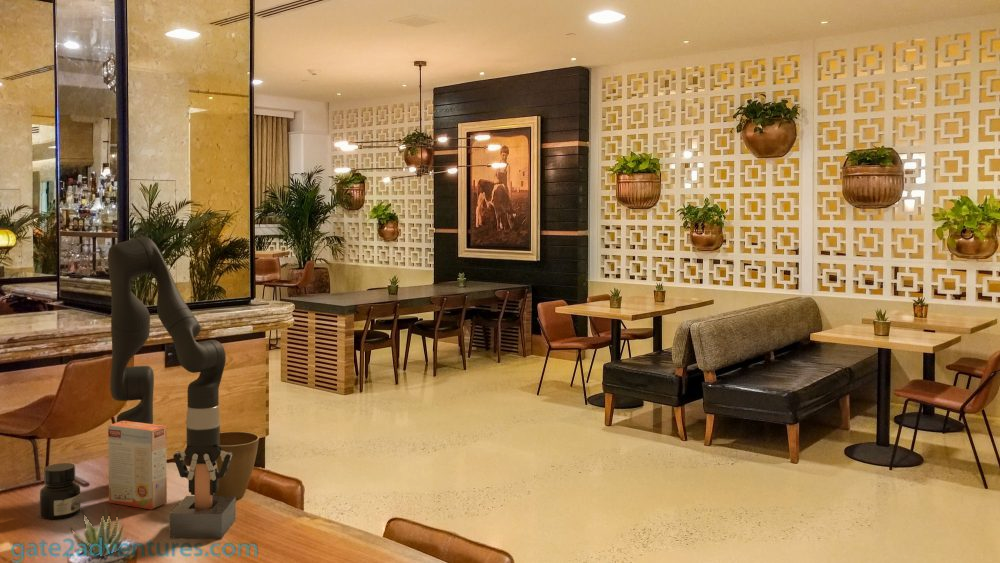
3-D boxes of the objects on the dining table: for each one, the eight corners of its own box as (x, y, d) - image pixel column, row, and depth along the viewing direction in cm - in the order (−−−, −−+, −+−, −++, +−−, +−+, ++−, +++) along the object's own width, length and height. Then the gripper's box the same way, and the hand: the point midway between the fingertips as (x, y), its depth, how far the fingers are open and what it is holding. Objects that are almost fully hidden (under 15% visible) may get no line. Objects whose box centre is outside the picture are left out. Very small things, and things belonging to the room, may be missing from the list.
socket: (186, 519, 206) (186, 495, 206) (235, 519, 207) (235, 496, 206) (169, 538, 194) (169, 513, 194) (221, 538, 195) (221, 513, 194)
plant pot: (257, 504, 218) (258, 444, 217) (197, 507, 214) (197, 447, 213) (259, 485, 232) (260, 429, 231) (203, 488, 229) (203, 431, 227)
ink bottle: (62, 522, 202) (61, 474, 201) (30, 519, 204) (29, 471, 203) (89, 508, 211) (88, 462, 210) (59, 505, 213) (58, 459, 212)
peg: (197, 516, 202) (197, 459, 201) (214, 516, 202) (214, 460, 201) (192, 522, 198) (192, 464, 197) (209, 522, 198) (209, 465, 197)
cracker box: (168, 503, 217) (167, 424, 215) (151, 511, 211) (150, 430, 209) (125, 496, 221) (124, 419, 220) (107, 503, 216) (106, 424, 214)
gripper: (237, 420, 202) (237, 489, 204) (178, 419, 202) (178, 488, 203) (229, 428, 195) (229, 499, 196) (167, 427, 194) (167, 499, 196)
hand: (203, 493), depth 200 cm, fingers closed on peg, 4 cm apart
